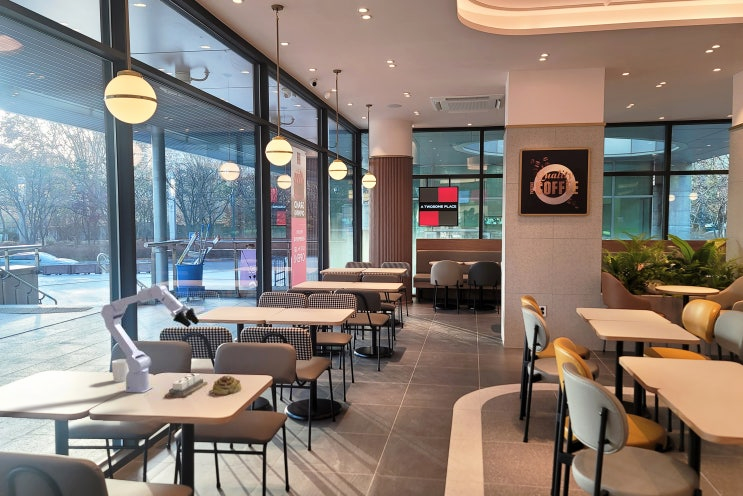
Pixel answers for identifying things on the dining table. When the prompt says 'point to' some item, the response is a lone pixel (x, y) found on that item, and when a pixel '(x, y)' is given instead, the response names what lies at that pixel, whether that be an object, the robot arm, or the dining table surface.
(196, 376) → the tile three
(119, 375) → the white cup
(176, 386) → the tile one
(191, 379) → the tile two
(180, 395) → the board
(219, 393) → the pastry
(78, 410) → the dining table surface
